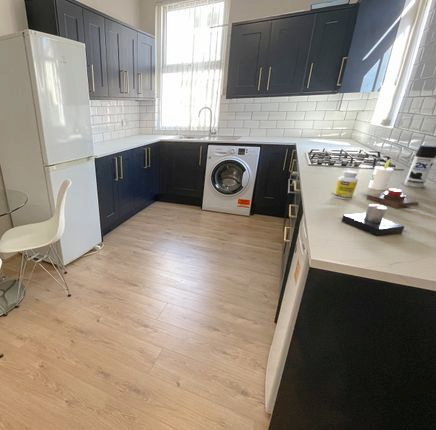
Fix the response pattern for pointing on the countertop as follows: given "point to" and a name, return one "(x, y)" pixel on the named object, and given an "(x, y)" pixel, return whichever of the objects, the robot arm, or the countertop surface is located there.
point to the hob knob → (375, 213)
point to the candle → (381, 177)
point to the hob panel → (372, 225)
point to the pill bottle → (346, 185)
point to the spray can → (421, 166)
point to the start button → (395, 192)
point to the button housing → (392, 200)
